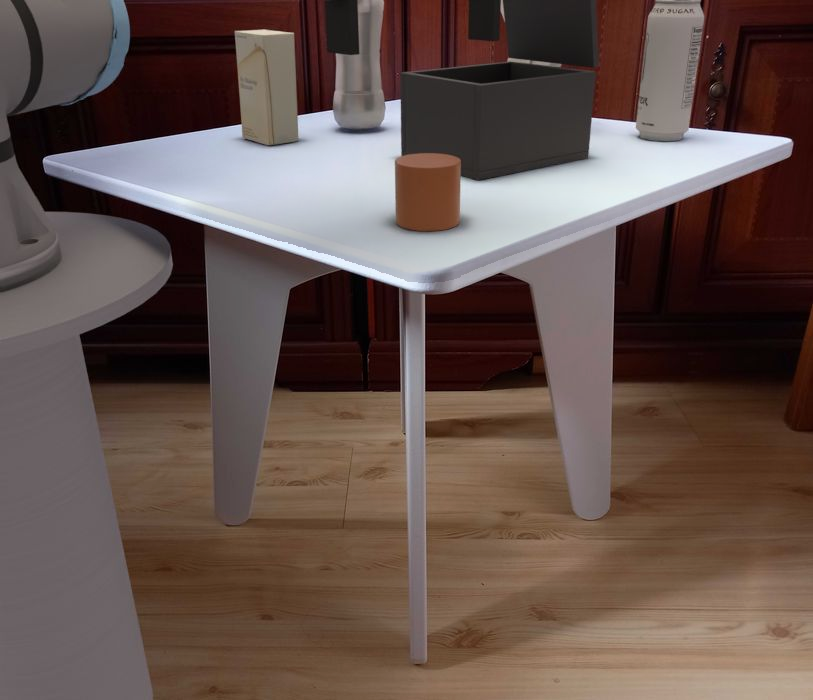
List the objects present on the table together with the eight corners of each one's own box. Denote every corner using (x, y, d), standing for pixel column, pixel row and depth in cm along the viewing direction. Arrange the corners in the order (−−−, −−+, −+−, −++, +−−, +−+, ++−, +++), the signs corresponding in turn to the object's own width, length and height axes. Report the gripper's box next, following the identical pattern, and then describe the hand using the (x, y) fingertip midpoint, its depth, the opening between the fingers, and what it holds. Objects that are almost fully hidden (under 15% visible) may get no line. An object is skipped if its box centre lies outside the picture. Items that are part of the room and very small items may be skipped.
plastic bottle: (349, 123, 106) (342, -47, 97) (395, 126, 103) (392, -47, 94) (323, 131, 101) (314, -47, 92) (371, 135, 98) (366, -48, 89)
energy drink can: (638, 130, 99) (653, -2, 93) (689, 133, 97) (708, -2, 91) (631, 140, 94) (646, 0, 88) (684, 143, 92) (704, 1, 86)
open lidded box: (478, 180, 78) (481, 85, 74) (401, 158, 87) (400, 72, 83) (588, 158, 86) (596, 71, 82) (507, 139, 95) (510, 61, 91)
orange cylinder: (421, 235, 62) (421, 171, 60) (383, 220, 66) (381, 159, 64) (472, 223, 65) (474, 161, 63) (432, 209, 69) (433, 150, 67)
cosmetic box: (241, 139, 97) (231, 30, 92) (272, 133, 100) (264, 28, 94) (270, 146, 93) (261, 33, 87) (302, 141, 95) (295, 31, 90)
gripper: (275, -387, 40) (304, 64, 49) (591, -298, 54) (568, 38, 64) (203, -346, 45) (242, 56, 54) (509, -275, 60) (499, 33, 69)
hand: (418, 47), depth 59 cm, fingers open, 13 cm apart
